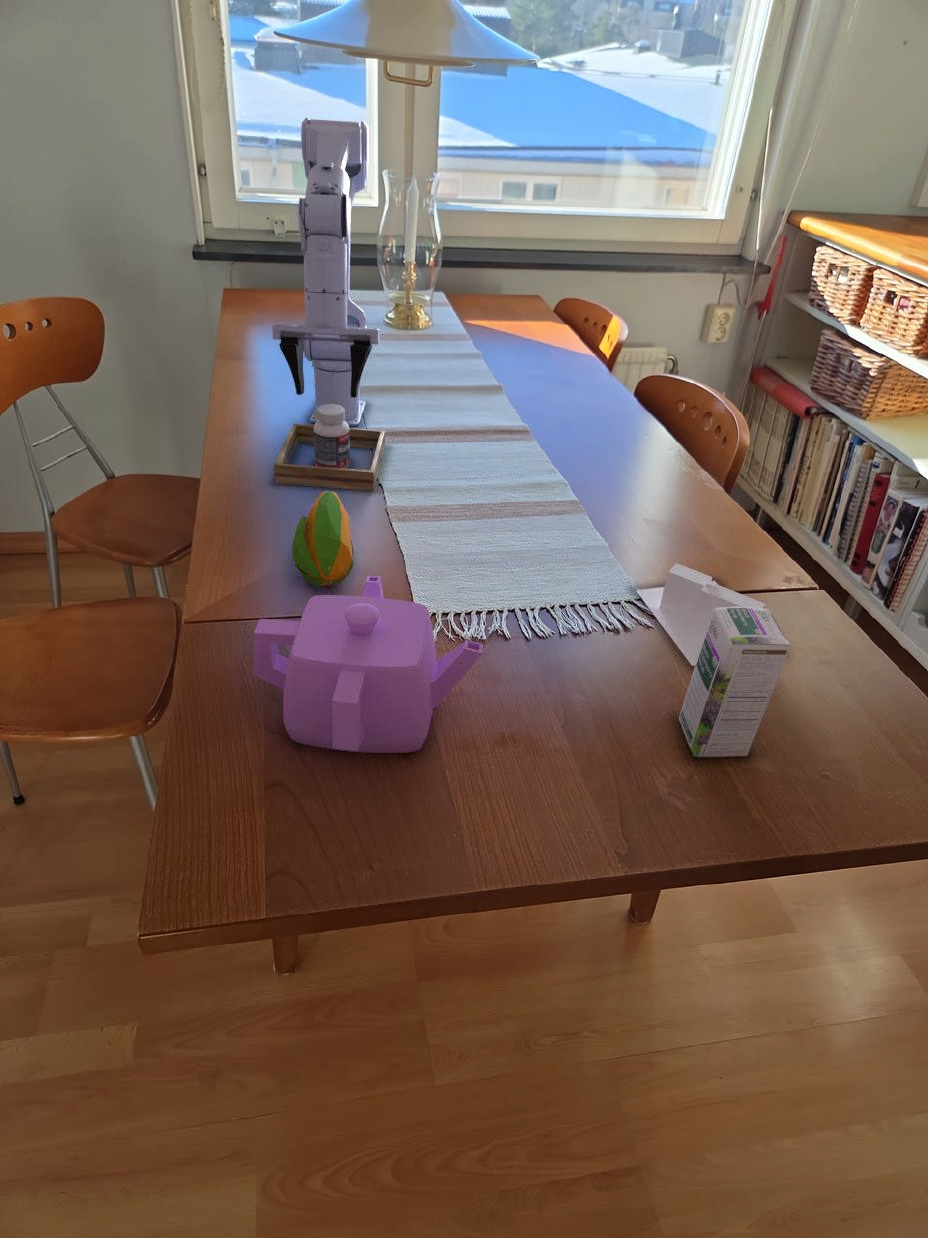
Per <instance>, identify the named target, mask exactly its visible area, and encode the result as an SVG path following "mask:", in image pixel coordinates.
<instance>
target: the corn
mask: <svg viewBox="0 0 928 1238" xmlns="http://www.w3.org/2000/svg"><path fill="white" fill-rule="evenodd" d="M291 550H292V559H293V562H294V564H295V567H296V568H297V570H298V571H299V573H300V574H301V576H302V577H303V578H304V580H305V581H306V582H307V583H309V584H310V585H312V586H314V587H316V588H320V587H322V586H328V588H331V587H334V586H336V585H338V584H340V583H342V582H343V581H344V580H345V579H346V578H347V577H348V576H349V575H350V574H351V572H352V569H353V567H354V546H353V541H352V533H351V524H350V516H349V514H348V512H347V510H346V508H345V506H344V505H343V503H342V501H341V499H340V497H339V496H338V494H337V492H336V491H330V490H324V491H322V492H320V493H319V495H318V496H317V498H316V499H315V501H314V503H313V504H312V506H311V508H310V510H309V513H308V515H307V517H306V514H303V515H302V516H301V517H300V519H299V521H298V523H297V525H296V528H295V533H294V536H293V541H292V549H291Z"/></svg>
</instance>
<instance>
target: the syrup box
mask: <svg viewBox="0 0 928 1238" xmlns="http://www.w3.org/2000/svg"><path fill="white" fill-rule="evenodd" d="M791 647H792V643H790V641H789V640H788V639H787V638H786V636H785V634H784V632H783V630H782V628H781V626H780V624H779V623H778V621H777V620H776V618H775V616H774V615H773V613H772V611H771V610H770V609H769V608H764V609H763V608H754V607H720V608H714V609H713V613H712V616H711V619H710V622H709V625H708V628H707V631H706V634H705V637H704V641H703V644H702V647H701V650H700V653H699V656H698V659H697V662H696V665H695V666H694V669H693V672H692V676H691V678H690V681H689V684H688V687H687V691H686V694H685V697H684V700H683V703H682V707H681V709H680V713H679V717H678V721H679V723H680V726H681V729H682V732H683V734H684V737H685V739H686V743H687V745H688V747H689V750H690V752H691V754H692V756H693V758H727V757H730V758H731V757H747V756H748V754H749V752H750V749H751V747H752V745H753V742H754V739H755V738H756V735H757V732H758V730H759V728H760V724H761V723H762V720H763V717H764V714H765V712H766V709H767V707H768V705H769V703H770V699H771V697H772V695H773V692H774V689H775V687H776V684H777V682H778V679H779V676H780V675H781V672H782V670H783V667H784V665H785V661H786V659H787V657H788V654H789V652H790V649H791Z"/></svg>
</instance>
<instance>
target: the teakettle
mask: <svg viewBox="0 0 928 1238" xmlns="http://www.w3.org/2000/svg"><path fill="white" fill-rule="evenodd" d="M278 645H283V646H284V645H285V646H291V649H290V654H289V658H287V657H286V656H283V655H281V654H280V653H279V648H278ZM483 647H484V644H483V643H481V642H477V641H474V640H469V639H464V641H463V642H462V643H460V644H459V645H458V646H456V647H455V648H453V649H452V650H450V651H449V652H447V653H446V654H444V655H442V657H440V658H439V659H437V653H436V641H435V635H434V630H433V625H432V621H431V616H430V612H429V608H428V606H426V605H424V604H421V603H418V602H414V601H409V600H401V599H393V598H386V597H384V592H383V584H382V576H381V575H370V574H369V575H367V577H366V580H365V586H364V589H363V594H362V595H343V594H341V595H340V594H321V595H314V596H311V597H310V598H309V599H308V601H307V603H306V604H305V607H304V610H303V613H302V615H301V617H300V619H299V621H298V620H285V619H269V618H259V620H258V622H257V624H256V627H255V628H254V631H253V653H252V654H253V657H252V658H253V659H252V661H253V662H252V665H253V666H252V675H253V676H255V677H257V678H259V679H261V680H263V681H265V682H267V683H268V684H271V685H273V686H275V687H277V688H278V689H281V690H282V691H283V699H282V701H283V702H282V712H283V713H282V714H283V725H284V728H285V730H286V733H287V734H288V736H289V737H290V739H291V740H292V741H293V742H295V743H298V744H302V745H305V746H311V747H314V748H315V747H316V748H322V749H327V750H335V751H341V752H349V753H361V754H364V753H365V754H366V753H367V754H405V753H415V752H418V751H419V750H421V749H422V747H423V745H424V743H425V742H426V741H425V740H426V738H427V737H428V733H429V729H430V725H431V720H432V715H433V710H434V709H436V708H438V707H439V706H440V704H441V703H442V702H443V701H444V700H445V698H446V697H448V695H449V694H450V693H451V691H452V690H453V689H454V688H455V687H456V686H457V685H458V683H459V682H460V681H461V680H462V679H463V677H465V675H466V674H467V673H468V672H469V670H470V669H471V668H472V667H473V666H474V665H475V664H476V663H477V661H478V660H480V658H481V657H482V655H483Z"/></svg>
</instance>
